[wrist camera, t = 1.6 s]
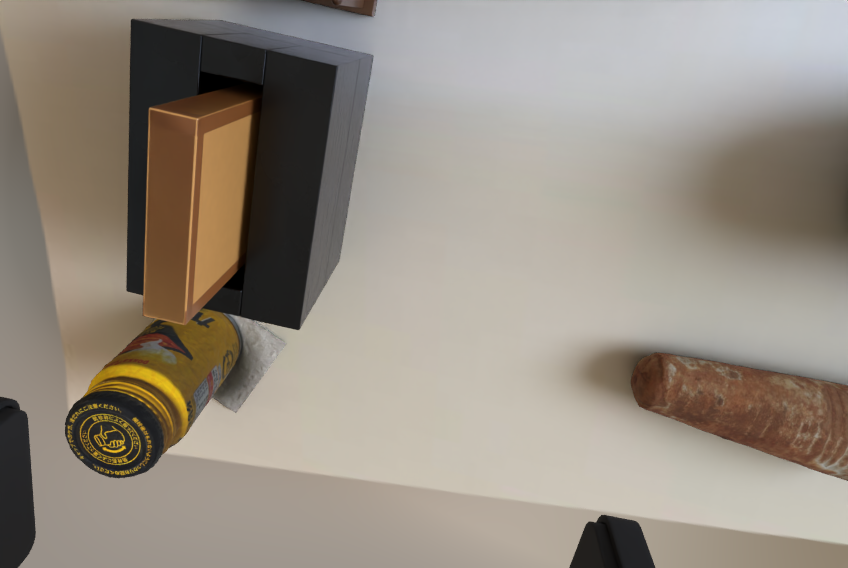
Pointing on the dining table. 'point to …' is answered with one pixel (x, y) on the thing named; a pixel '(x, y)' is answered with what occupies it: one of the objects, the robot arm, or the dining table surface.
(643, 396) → the reddish-brown tapered rod
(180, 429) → the condiment
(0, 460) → the robot arm
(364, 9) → the rack
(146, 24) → the toaster
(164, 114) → the toast
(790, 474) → the dining table surface
